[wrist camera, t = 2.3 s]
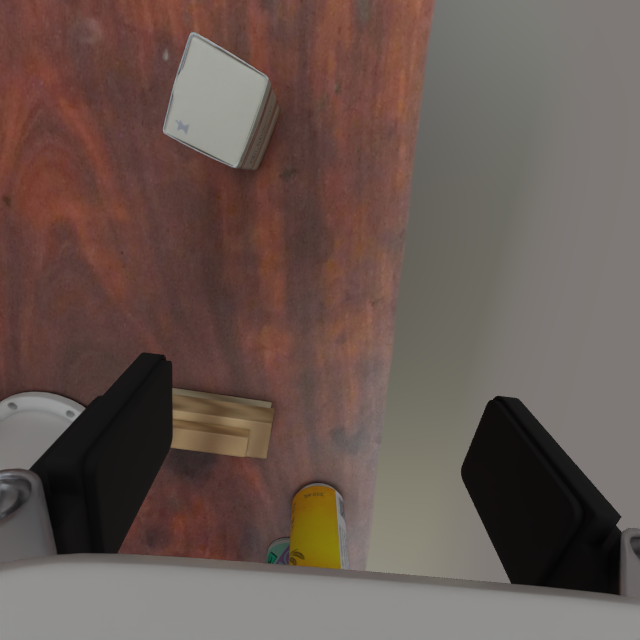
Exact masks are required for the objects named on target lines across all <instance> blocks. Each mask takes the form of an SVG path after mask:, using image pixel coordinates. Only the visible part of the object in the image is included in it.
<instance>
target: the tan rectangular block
mask: <svg viewBox="0 0 640 640" xmlns="http://www.w3.org/2000/svg"><path fill="white" fill-rule="evenodd" d="M172 401H173V439H172V444H171V447H170V448H178V449H186V450H193V451H201V452H208V453H216V454H224V455H231V456H239V457H246V456H249V457H257V458H264V459H266V458H267V452H268V446H269V441H270V435H271V429H272V424H273V417H274V410H275V409H273V408H271V404H272V402H266V401H260V400H253V399H246V398H239V397H232V396H225V395H219V394H212V393H205V392H198V391H191V390H184V389H178V388H172Z"/></svg>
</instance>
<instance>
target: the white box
mask: <svg viewBox="0 0 640 640" xmlns="http://www.w3.org/2000/svg"><path fill="white" fill-rule="evenodd" d="M279 113H280V108H279V105H278V102H277V100H276V97H275V94H274V92H273V89H272V86H271V83H270V81H269V78H268V77H267V76H266V75H265V74H263V73H262V72H260V71H258V70H257V69H255V68H254V67H252V66H251V65H249V64H247V63H246V62H244V61H243V60H241V59H239V58H238V57H236V56H235V55H233V54H232V53H230V52H228V51H226V50H225V49H223V48H222V47H220V46H218V45H216V44H215V43H213V42H211V41H210V40H208V39H206V38H204V37H202V36H201V35H199V34H197V33H196V32H192V33H191V34H190V35H189V38H188V41H187V44H186V48H185V50H184V53H183V57H182V60H181V63H180V66H179V69H178V72H177V75H176V79H175V82H174V86H173V89H172V94H171V98H170V102H169V106H168V110H167V114H166V118H165V123H164V127H163V132H164V134H166V135H168V136H170V137H171V138H173V139H175V140H177V141H179V142H181V143H183V144H185V145H186V146H188V147H190V148H192V149H194V150H196V151H198V152H200V153H202V154H204V155H206V156H208V157H210V158H212V159H215V160H217V161H219V162H221V163H224V164H226V165H228V166H230V167H233V168H240V169H250V170H257V169H258V168H259V165H260V163H261V161H262V159H263V156H264V154H265V151H266V149H267V146H268V144H269V141H270V138H271V136H272V133H273V130H274V128H275V125H276V122H277V119H278V116H279Z"/></svg>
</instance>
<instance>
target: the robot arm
mask: <svg viewBox="0 0 640 640" xmlns="http://www.w3.org/2000/svg"><path fill="white" fill-rule="evenodd" d="M172 439H173V401H172V362H171V361H167V360H166V357H165V356H164V355H160V354H152V353H142V354H140V355H139V356H138V358H137V359H136V360H135V361H134V362H133V363H132V364H131V365H130V366H129V367H128V369H127V370H126V371H125V372H124V373H123V374H122V375H121V376H120V377H119V378H118V380H117V381H116V382H115V383H114V384H113V385H112V386H111V387H110V388H109V389H108V391H107V392H106V393H105V394H104V395H103V396H98V397H97V398H95V399H94V400H93V401H92V402H91V403H90V404H89V405H88V406H87V408H85V407H84V406H82V405H80V404H78V403H77V402H75V401H73V400H71V399H68V398H65V397H63V396H60V395H56V394H51V393H47V392H24V393H19V394H16V395H12V396H10V397H8V398H6V399H4V400H3V401H1V402H0V640H640V529H638V528H628V529H626V530H624V531H623V532H621V531H620V530H619V529H618V527H617V526H616V524H617V523H618V521H619V520H620V518H621V516H620V515H619V514H618V512H617V511H616V510H615V509H614V508H613V507H612V505H611V504H610V503H609V502H608V501H607V500H606V499H605V498H604V496H603V495H602V494H601V493H600V492H599V490H597V488H596V487H595V486H594V485H593V484H592V482H591V481H590V480H589V479H588V478H587V477H586V476H585V474H584V473H583V472H582V471H581V470H580V469H579V467H578V466H577V465H576V464H575V463H574V462H573V461H572V459H571V458H570V457H569V456H568V455H567V454H566V453H565V452H564V450H563V449H562V448H561V447H560V446H559V445H558V443H557V442H556V441H555V440H554V439H553V438H552V436H551V435H550V434H549V433H548V432H547V431H546V430H545V429H544V427H543V426H542V425H541V424H540V423H539V422H538V420H537V419H536V418H535V417H534V416H533V415H532V414H531V412H530V411H529V410H528V409H527V408H526V407H525V405H524V404H523V403H522V402H521V401H520V400H519V399H517V398H511V397H502V396H496V397H495V398H494V399H493V400H490V401H489V402H488V403H487V406H486V408H485V410H484V413H483V415H482V418H481V421H480V423H479V425H478V428H477V430H476V433H475V435H474V438H473V440H472V443H471V446H470V447H469V450H468V453H467V455H466V457H465V460H464V462H463V465H462V468H461V476H462V479H463V482H464V484H465V486H466V488H467V490H468V492H469V494H470V497H471V499H472V501H473V503H474V505H475V507H476V509H477V512H478V514H479V516H480V518H481V520H482V522H483V524H484V526H485V529H486V531H487V533H488V535H489V537H490V539H491V541H492V543H493V546H494V548H495V550H496V552H497V554H498V556H499V558H500V560H501V563H502V564H503V567H504V569H505V571H506V573H507V575H508V578H509V579H510V582H511V584H507V583H497V582H486V581H474V580H463V579H452V578H440V577H428V576H416V575H404V574H393V573H381V572H369V571H356V570H344V569H332V568H319V567H307V566H294V565H281V564H268V563H255V562H242V561H229V560H216V559H202V558H187V557H170V556H153V555H136V554H117V553H118V551H119V549H120V547H121V545H122V543H123V541H124V539H125V537H126V535H127V533H128V531H129V529H130V527H131V525H132V523H133V521H134V519H135V517H136V515H137V513H138V511H139V509H140V507H141V505H142V503H143V501H144V499H145V497H146V495H147V493H148V491H149V489H150V487H151V485H152V483H153V481H154V479H155V477H156V475H157V473H158V471H159V469H160V467H161V465H162V463H163V461H164V459H165V457H166V455H167V453H168V452H169V449H170V447H171V444H172Z"/></svg>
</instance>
